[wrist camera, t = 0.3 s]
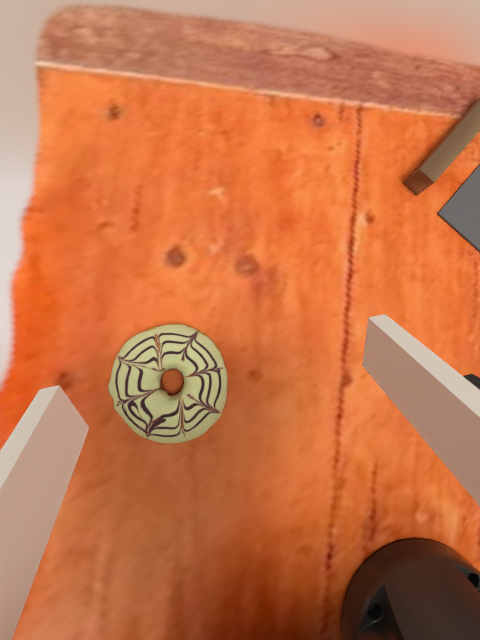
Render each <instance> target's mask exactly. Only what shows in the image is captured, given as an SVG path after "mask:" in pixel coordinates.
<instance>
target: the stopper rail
mask: <svg viewBox="0 0 480 640" xmlns="http://www.w3.org/2000/svg"><path fill="white" fill-rule="evenodd" d="M479 131H480V98H479V99H478V100H477V101H476V102H475V103H474V105H473V106H472V107H471V108H470V109H469V110H468V111H467V112H466V114H465V115H464V116H463V117H462V118H461V119H460V120H459V121H458V123H457V124H456V125H455V126H454V127H453V128H452V129H451V130H450V132H449V133H448V134H447V135H446V136H445V137H444V138H443V139H442V140H441V142H440V143H439V144H438V145H437V146H436V147H435V148H434V149H433V151H432V152H431V153H430V154H429V155H428V156H427V157H426V158H425V160H424V161H423V162H422V163H421V164H420V165H419V166H418V167H417V169H416V170H415V171H414V172H413V173H412V174H411V175H410V176H409V178H408V179H407V180H406V181H405V182H404V183H403V184H405V185H406V186H407V187H408V188H409V189H410V190H411V191H412V192H413V193H415V194H416V195H418V194H420V193H421V192H422V191H424V190H425V189H426V188H428V187H429V186H430V185H432V184H433V183H434V182H435V181H436V180H437V179H438V178H439V177H440V175H441V174H442V173H443V172H444V171H445V170H446V169H447V167H448V166H449V165H450V164H451V163H452V162H453V161H454V159H455V158H456V157H457V156H458V155H459V154H460V153H461V152H462V150H463V149H464V148H465V147H466V146H467V145H468V144H469V142H470V141H471V140H472V139H473V138H474V137H475V136H476V134H477V133H478V132H479Z"/></svg>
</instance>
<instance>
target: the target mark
mask: <svg viewBox="0 0 480 640" xmlns="http://www.w3.org/2000/svg"><path fill="white" fill-rule="evenodd" d="M437 214H438V215H439V216H440V217H441V218H442V219H443V220H445V221H446V222H447V223H448V224H449V225H450V226H451V227H452V228H453V229H455V230H456V231H457V232H458V233H459V234H460V235H461V236H462V237H463V238H465V239H466V240H467V241H468V242H469V243H470V244H471V245H472V246H473V247H475V248H476V249H477V250H478V251H479V252H480V165H479V166H478V167H477V168H476V169H475V170H474V172H473V173H472V174H471V175H470V176H469V177H468V179H467V180H466V181H465V182H464V183H463V184H462V186H461V187H460V188H459V189H458V190H457V191H456V192H455V194H454V195H453V196H452V197H451V198H450V199H449V201H448V202H447V203H446V204H445V205H444V206H443V208H442V209H441V210H440V211H439V212H438V213H437Z"/></svg>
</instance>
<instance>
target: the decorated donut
mask: <svg viewBox="0 0 480 640" xmlns="http://www.w3.org/2000/svg"><path fill="white" fill-rule="evenodd" d="M172 369H173V370H174V369H176V370H179V371H180V372H181V373H182V375H183V378H184V385H183V387H182V389H181V391H180V392H179V393H178V394H169V392H168V391H165V389H164V388H163V386H162V376H163V374H164V373H165V372H166V371H168V370H172ZM108 387H109V392H110V395H111V397H112V398H113V399H114V409H115V410H116V411H117V412H118V414H119V415H120V416H121V417H122V418H123V419H124V421H125V423H126V424H127V425H128V426H129V427H130V428H131V429H132V430H133V431H134V432H135V433H136V434H138V435H140V436H141V437H144V438H146V439H148V440H151V441H155V442H158V443H168V444H169V443H182V442H185V441H189V440H192V439H195V438H197V437H199V436H201V435H203V434H204V433H205V432H206V431H207V430H208V429H209V428H210V427H211V426H213V424H214V423H215V422H216V421H217V420H218V419H219V418H220V417H221V415H222V412H223V408H224V406H225V403H226V398H227V387H228V377H227V370H226V366H225V363H224V359H223V357H222V355H221V352H220V350H219V348H218V347H217V345H216V344H215V343H214V342H213V341H212V340H211V339H210V338H209V337H208V336H206V335H205V334H203V333H202V332H200V331H199V330H197V329H195V328H192V327H190V326H187V325H183V324H165V325H161V326H158V327H153V328H150V329H149V330H147V331H144V332H141V333H139V334H137V335H135V336H134V337H132V338H131V339H130V340H128V341H127V342H126V343H125V344H124V346H123V347H122V348H121V350H120V352H119V353H118V354H117V357H116V359H115V361H114V365H113V368H112V374H111V380H110V382H109V385H108Z"/></svg>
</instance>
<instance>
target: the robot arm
mask: <svg viewBox="0 0 480 640" xmlns="http://www.w3.org/2000/svg"><path fill="white" fill-rule="evenodd" d="M362 366H363V367H364V368H365V369H366V371H367V372H368V373H369V374H370V375H371V377H372V378H373V379H374V380H375V381H376V383H377V384H378V385H379V386H380V387H381V389H382V390H383V391H384V392H385V393H386V395H387V396H388V397H389V398H390V399H391V401H392V402H393V403H394V404H395V405H396V407H397V408H398V409H399V410H400V411H401V413H402V414H403V415H404V416H405V417H406V419H407V420H408V421H409V422H410V423H411V425H412V426H413V427H414V428H415V429H416V431H417V432H418V433H419V434H420V435H421V437H422V438H423V439H424V440H425V441H426V443H427V444H428V445H429V446H430V447H431V449H432V450H433V451H434V452H435V453H436V455H437V456H438V457H439V458H440V459H441V461H442V462H443V463H444V464H445V465H446V467H447V468H448V469H449V470H450V471H451V473H452V474H453V475H454V476H455V477H456V479H457V480H458V481H459V482H460V483H461V485H462V486H463V487H464V488H465V489H466V491H467V492H468V493H469V494H470V495H471V497H472V498H473V499H474V500H475V501H476V502H477V504H478V505H479V506H480V378H479V377H477V376H475V375H473V374H469V375H465V376H462V375H461V374H459V373H458V372H457V371H456V370H454V369H453V368H452V367H451V366H449V365H448V364H447V363H446V362H444V361H443V360H442V359H441V358H439V357H438V356H437V355H436V354H434V353H433V352H432V351H431V350H429V349H428V348H427V347H426V346H424V345H423V344H422V343H421V342H419V341H418V340H417V339H416V338H414V337H413V336H412V335H411V334H409V333H408V332H407V331H406V330H404V329H403V328H402V327H401V326H399V325H398V324H397V323H396V322H394V321H393V320H392V319H391V318H389V317H388V316H387V315H386V314H384V315H379V316H375V317H370V318H368V325H367V333H366V341H365V348H364V356H363V364H362ZM88 430H89V427H88V425H87V424H86V422H85V421H84V420H83V418H82V417H81V415H80V414H79V412H78V411H77V410H76V408H75V407H74V405H73V404H72V402H71V401H70V400H69V398H68V397H67V395H66V394H65V393H64V391H63V390H62V388H61V387H60V385H58V386H53V387H49V388H44V389H40V390H39V392H38V393H37V395H36V396H35V398H34V399H33V401H32V402H31V404H30V406H29V407H28V409H27V410H26V412H25V413H24V415H23V417H22V418H21V420H20V421H19V423H18V424H17V426H16V428H15V429H14V431H13V432H12V434H11V435H10V437H9V438H8V440H7V442H6V443H5V445H4V446H3V448H2V449H1V451H0V640H12V638H13V635H14V633H15V630H16V627H17V624H18V622H19V619H20V616H21V614H22V611H23V608H24V605H25V603H26V600H27V597H28V594H29V592H30V589H31V586H32V583H33V581H34V578H35V575H36V573H37V570H38V567H39V564H40V562H41V559H42V556H43V553H44V551H45V548H46V545H47V542H48V540H49V537H50V534H51V532H52V529H53V526H54V523H55V521H56V518H57V515H58V512H59V510H60V507H61V504H62V501H63V499H64V496H65V493H66V491H67V488H68V485H69V482H70V480H71V477H72V474H73V471H74V469H75V466H76V463H77V460H78V458H79V455H80V452H81V449H82V447H83V444H84V441H85V439H86V436H87V433H88ZM342 634H343V640H480V572H479V571H478V570H477V569H476V568H475V567H474V566H473V565H472V564H471V563H469V562H468V561H467V560H466V559H465V558H464V557H463V556H462V555H460V554H459V553H458V552H456V551H455V550H453V549H452V548H450V547H448V546H446V545H444V544H441V543H438V542H435V541H431V540H425V539H409V540H403V541H399V542H396V543H393V544H391V545H388V546H386V547H384V548H383V549H381V550H379V551H378V552H376V553H375V554H374V555H373V556H371V557H370V558H369V559H368V560H367V561H366V562H365V563H364V564H363V566H362V567H361V568H360V569H359V571H358V572H357V574H356V575H355V577H354V578H353V580H352V582H351V584H350V587H349V589H348V592H347V594H346V598H345V601H344V606H343V612H342Z"/></svg>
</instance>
